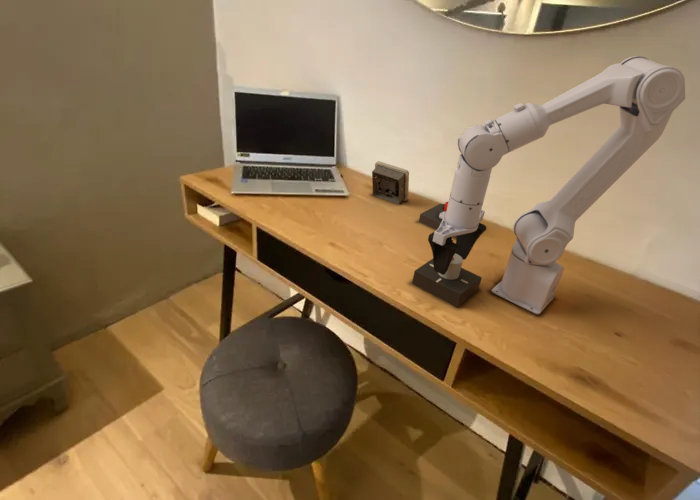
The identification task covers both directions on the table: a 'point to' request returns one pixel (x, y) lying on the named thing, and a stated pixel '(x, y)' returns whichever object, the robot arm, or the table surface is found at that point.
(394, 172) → the electrical switch
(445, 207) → the power button
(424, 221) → the button block
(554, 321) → the table surface
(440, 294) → the dial panel
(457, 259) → the dial
